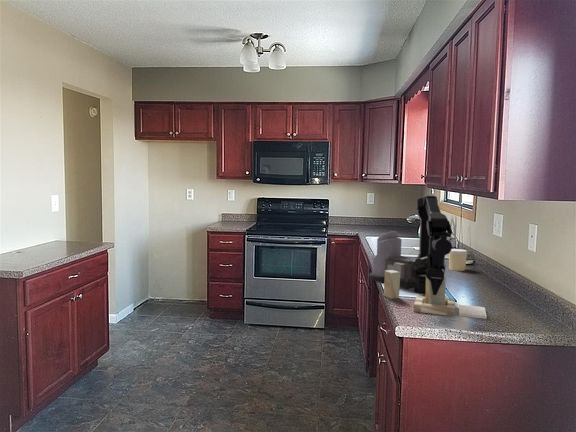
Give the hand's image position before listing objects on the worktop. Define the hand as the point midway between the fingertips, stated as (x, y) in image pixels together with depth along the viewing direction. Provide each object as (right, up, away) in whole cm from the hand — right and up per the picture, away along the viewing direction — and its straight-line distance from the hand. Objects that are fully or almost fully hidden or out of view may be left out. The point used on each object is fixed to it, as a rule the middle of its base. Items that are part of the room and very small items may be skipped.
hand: (435, 292), depth 167 cm
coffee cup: (+36, -2, +72) cm, 81 cm away
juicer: (-5, -3, +44) cm, 44 cm away
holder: (0, -6, 0) cm, 6 cm away
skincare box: (0, -7, 0) cm, 7 cm away
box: (-13, -5, +16) cm, 21 cm away
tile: (+12, -7, -4) cm, 14 cm away
